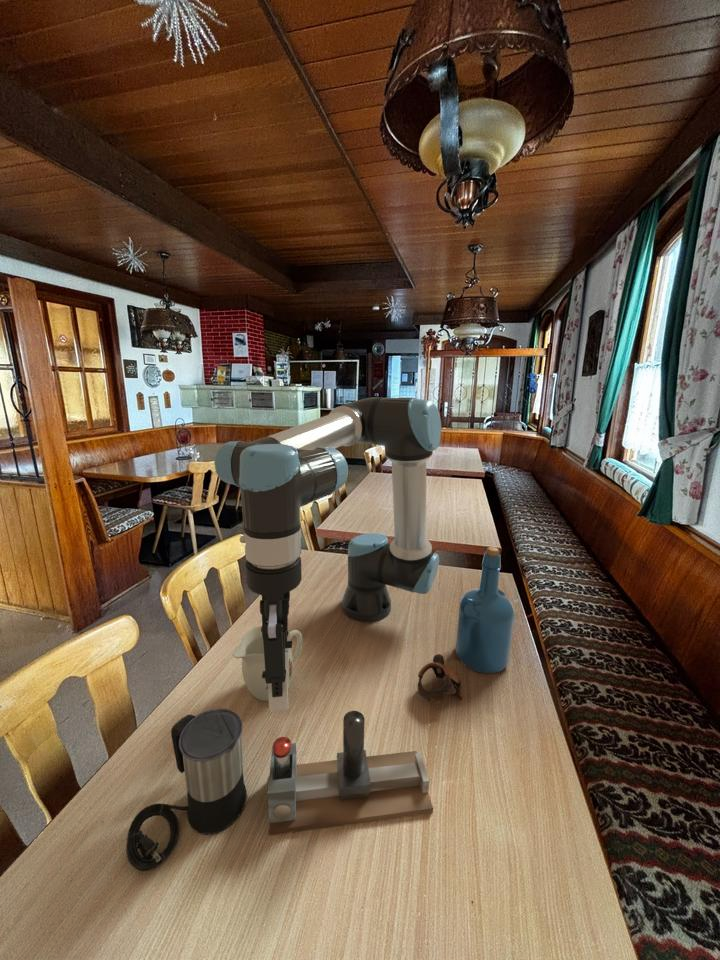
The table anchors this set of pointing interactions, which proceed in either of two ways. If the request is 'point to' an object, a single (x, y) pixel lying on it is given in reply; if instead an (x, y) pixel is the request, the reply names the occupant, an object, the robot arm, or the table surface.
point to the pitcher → (260, 660)
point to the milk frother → (198, 783)
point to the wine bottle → (486, 621)
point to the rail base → (315, 799)
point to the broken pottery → (440, 672)
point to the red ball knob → (282, 755)
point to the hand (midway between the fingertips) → (279, 697)
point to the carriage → (353, 759)
